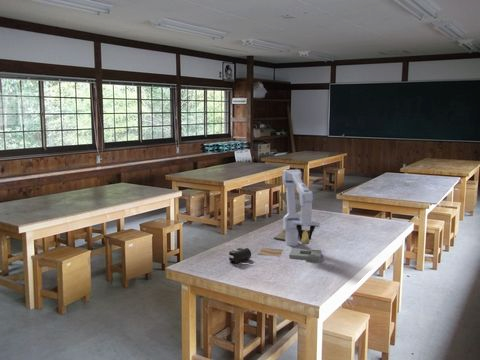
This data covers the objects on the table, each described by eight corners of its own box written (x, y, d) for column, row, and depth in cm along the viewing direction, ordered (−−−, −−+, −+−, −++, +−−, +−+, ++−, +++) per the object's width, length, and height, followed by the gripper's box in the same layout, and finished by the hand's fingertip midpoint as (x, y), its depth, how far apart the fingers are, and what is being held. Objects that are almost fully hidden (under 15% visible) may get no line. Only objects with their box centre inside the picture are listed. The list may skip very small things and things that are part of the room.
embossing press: (305, 234, 296) (307, 187, 291) (286, 242, 277) (287, 193, 272) (290, 231, 302) (292, 185, 297) (271, 239, 283) (272, 190, 279)
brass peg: (301, 241, 252) (301, 229, 251) (309, 242, 251) (310, 229, 250) (300, 244, 248) (301, 231, 247) (309, 244, 247) (309, 231, 246)
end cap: (239, 266, 236) (239, 253, 235) (228, 263, 240) (228, 250, 239) (251, 261, 244) (251, 248, 242) (240, 258, 248) (240, 246, 247)
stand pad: (262, 249, 263) (262, 248, 263) (283, 251, 260) (283, 249, 260) (257, 256, 252) (257, 254, 252) (280, 257, 249) (280, 256, 249)
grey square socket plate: (292, 252, 258) (292, 248, 258) (321, 254, 255) (321, 250, 254) (289, 259, 247) (289, 254, 246) (319, 261, 243) (319, 257, 243)
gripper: (291, 215, 245) (290, 240, 247) (319, 216, 242) (318, 242, 244) (293, 212, 252) (292, 236, 254) (320, 213, 248) (319, 238, 250)
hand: (305, 239), depth 249 cm, fingers closed on brass peg, 4 cm apart
